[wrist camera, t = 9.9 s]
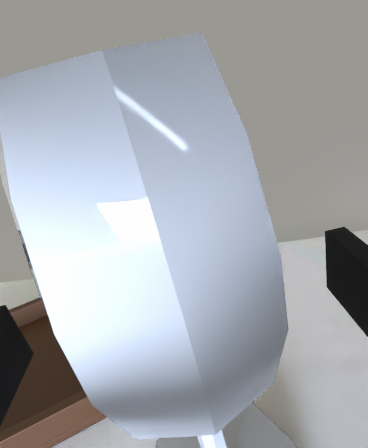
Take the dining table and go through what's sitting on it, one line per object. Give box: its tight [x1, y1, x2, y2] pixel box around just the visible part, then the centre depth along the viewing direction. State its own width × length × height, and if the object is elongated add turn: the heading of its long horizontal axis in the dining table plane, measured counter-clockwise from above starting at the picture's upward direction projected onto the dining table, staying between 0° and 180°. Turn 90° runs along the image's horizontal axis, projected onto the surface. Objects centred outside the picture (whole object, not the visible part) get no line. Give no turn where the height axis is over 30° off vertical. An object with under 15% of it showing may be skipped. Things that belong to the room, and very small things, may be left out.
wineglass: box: [0, 33, 297, 448], centre depth 13 cm, size 9×9×21 cm
